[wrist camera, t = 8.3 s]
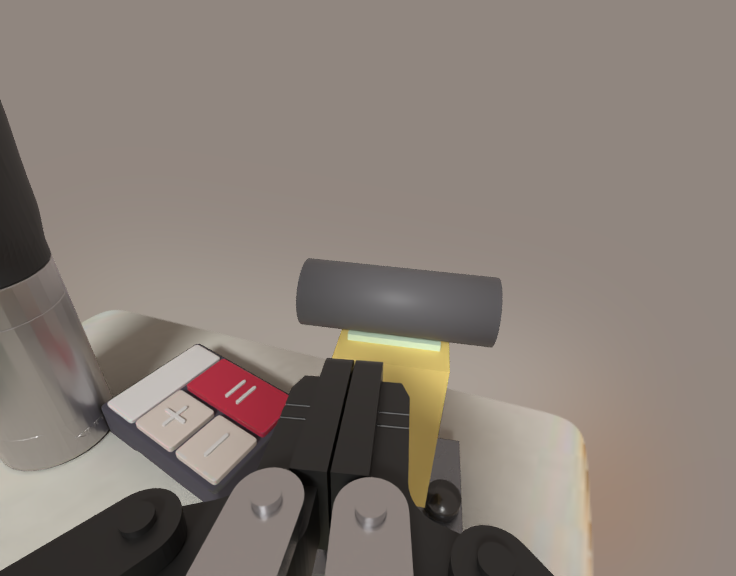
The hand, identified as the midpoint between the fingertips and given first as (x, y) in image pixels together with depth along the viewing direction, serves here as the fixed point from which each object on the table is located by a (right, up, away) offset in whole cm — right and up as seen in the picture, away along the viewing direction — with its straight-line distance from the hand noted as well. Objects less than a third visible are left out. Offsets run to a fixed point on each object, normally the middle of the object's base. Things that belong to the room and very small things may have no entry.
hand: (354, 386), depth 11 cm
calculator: (-15, -11, +29) cm, 35 cm away
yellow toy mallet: (+1, -12, +19) cm, 23 cm away
